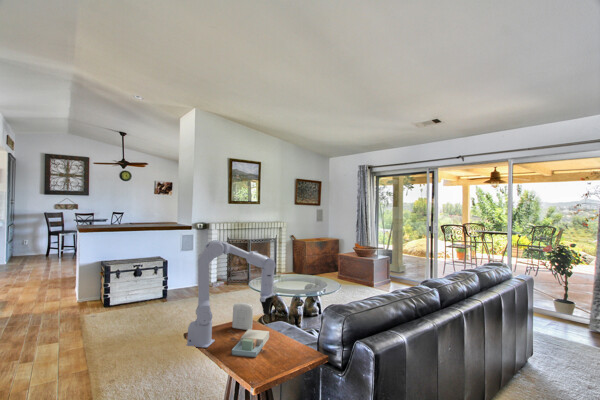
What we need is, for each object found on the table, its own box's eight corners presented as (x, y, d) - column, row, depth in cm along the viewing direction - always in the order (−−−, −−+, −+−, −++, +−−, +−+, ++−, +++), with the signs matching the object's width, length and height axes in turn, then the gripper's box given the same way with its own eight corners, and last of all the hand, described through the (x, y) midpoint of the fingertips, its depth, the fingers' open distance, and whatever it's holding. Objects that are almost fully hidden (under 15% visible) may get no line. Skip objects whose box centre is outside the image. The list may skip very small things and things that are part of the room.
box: (231, 354, 125) (231, 349, 125) (240, 344, 135) (240, 340, 135) (255, 357, 123) (255, 352, 123) (262, 347, 133) (263, 342, 133)
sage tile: (243, 348, 130) (241, 350, 128) (244, 338, 131) (242, 340, 128) (253, 349, 130) (251, 351, 127) (253, 339, 130) (251, 341, 127)
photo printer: (253, 328, 155) (254, 302, 156) (250, 331, 151) (251, 304, 152) (234, 325, 158) (235, 300, 159) (230, 328, 154) (231, 302, 155)
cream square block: (240, 344, 135) (240, 337, 135) (248, 335, 145) (248, 329, 145) (263, 346, 133) (263, 339, 134) (269, 337, 143) (269, 331, 143)
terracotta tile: (244, 348, 130) (244, 341, 131) (247, 344, 134) (248, 338, 135) (253, 349, 130) (254, 342, 130) (256, 345, 134) (257, 339, 134)
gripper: (271, 287, 138) (270, 319, 137) (279, 281, 152) (278, 309, 152) (256, 286, 139) (255, 318, 138) (265, 280, 153) (264, 308, 153)
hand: (266, 313), depth 145 cm, fingers closed
